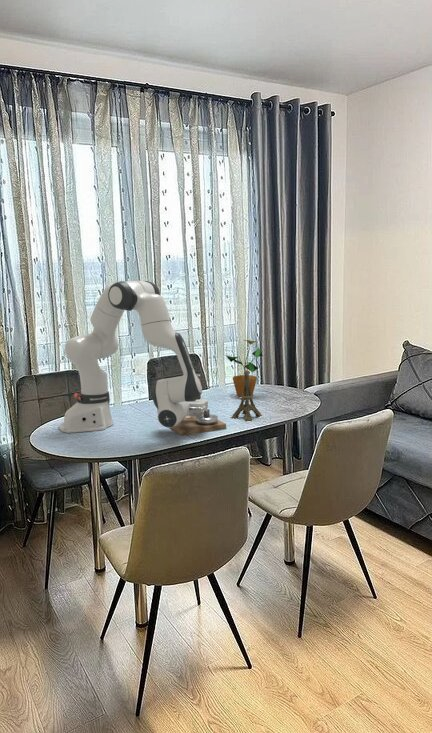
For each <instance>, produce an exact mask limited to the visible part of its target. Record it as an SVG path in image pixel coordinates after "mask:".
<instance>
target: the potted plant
mask: <svg viewBox="0 0 432 733" xmlns="http://www.w3.org/2000/svg"><path fill="white" fill-rule="evenodd" d="M244 342H247V344H249V347H248V350H247V354H246V357H245V361H244V363H243V362H242V360H241V358H240V357H239V356H230V355H225V357H226V358H227V359H228V360H229V361H230V363H232V362H234V363H236V364H238V365H241V366H242V368H243V369H244V370H243V371H244V372H245V371H246V368H247V371H249V372H250V373H251V372H252V373H254V372H256V371H257V370H258V369H259V367H257V365H255V364H254V363H252V362H253V361H254V360H255V358H258V357H263V356H264V355H263V353H262V350H261V348H258V349H256V350H254V351H253V352H252V353H251V354H252V355H253V358H252V360H251V361H249V362H248V361H247V359H248V356H249V353H250V349H251V348H250V347H251V345H252V344H254V343H257V341H255V340H247V339H244ZM238 359H239V360H238ZM244 372H243V374H240V375H234V376H232V381H233V385H234V389H235V393H236V396H237V398H239V397H241V395H243V389H244V380H245V374H244ZM257 379H258V377H257V376H256V375H250V374H249V381H250V389H251V395H253V396H254V391H255V387H256V383H257V381H258V380H257Z"/></svg>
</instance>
